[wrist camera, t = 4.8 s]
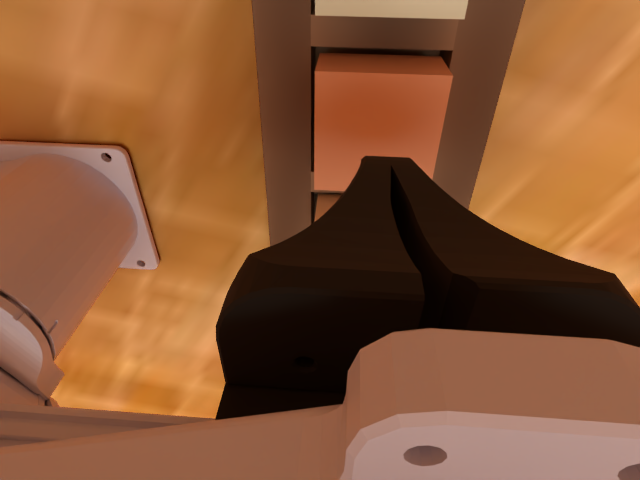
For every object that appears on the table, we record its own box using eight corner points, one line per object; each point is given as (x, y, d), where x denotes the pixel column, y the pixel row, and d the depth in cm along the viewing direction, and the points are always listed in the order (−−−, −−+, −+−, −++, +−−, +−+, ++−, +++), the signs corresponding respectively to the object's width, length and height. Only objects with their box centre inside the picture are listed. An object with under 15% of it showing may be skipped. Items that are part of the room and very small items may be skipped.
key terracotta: (318, 161, 18) (314, 190, 16) (319, 52, 15) (314, 70, 13) (421, 165, 18) (429, 195, 16) (440, 56, 15) (453, 75, 13)
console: (281, 258, 25) (274, 293, 22) (230, -659, 9) (185, -866, 7) (433, 266, 24) (442, 303, 22) (658, -680, 9) (774, -907, 6)
